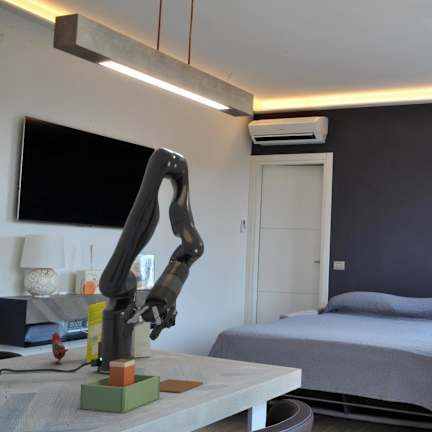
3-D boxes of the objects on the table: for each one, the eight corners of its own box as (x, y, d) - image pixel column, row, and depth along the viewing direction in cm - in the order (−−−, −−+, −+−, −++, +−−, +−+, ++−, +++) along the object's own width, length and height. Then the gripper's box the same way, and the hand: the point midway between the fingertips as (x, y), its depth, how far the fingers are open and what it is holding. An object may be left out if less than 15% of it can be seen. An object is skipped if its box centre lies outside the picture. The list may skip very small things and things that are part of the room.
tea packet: (108, 404, 153) (109, 361, 154) (118, 400, 157) (120, 358, 158) (123, 406, 152) (124, 362, 153) (133, 402, 156) (135, 359, 157)
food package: (102, 355, 219) (104, 301, 220) (105, 355, 219) (107, 301, 220) (84, 363, 204) (87, 305, 205) (88, 363, 204) (90, 305, 205)
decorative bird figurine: (57, 359, 210) (58, 331, 210) (71, 368, 197) (72, 337, 197) (48, 360, 208) (49, 332, 208) (62, 369, 195) (63, 338, 195)
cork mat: (142, 389, 169) (142, 388, 169) (168, 380, 181) (168, 379, 181) (179, 393, 166) (179, 391, 166) (203, 383, 178) (203, 382, 178)
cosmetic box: (150, 356, 218) (151, 316, 219) (133, 358, 215) (134, 317, 215) (145, 353, 225) (146, 313, 226) (128, 354, 222) (130, 314, 222)
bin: (79, 408, 149) (80, 384, 150) (119, 394, 164) (120, 372, 164) (122, 412, 146) (123, 388, 146) (159, 398, 160) (160, 375, 161)
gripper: (191, 301, 173) (166, 347, 162) (149, 300, 177) (122, 345, 165) (181, 284, 168) (154, 330, 157) (138, 283, 172) (109, 328, 160)
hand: (138, 337), depth 161 cm, fingers open, 8 cm apart
